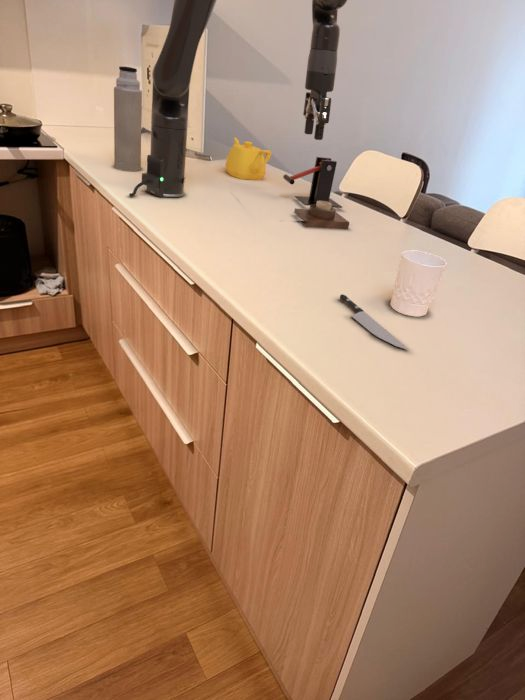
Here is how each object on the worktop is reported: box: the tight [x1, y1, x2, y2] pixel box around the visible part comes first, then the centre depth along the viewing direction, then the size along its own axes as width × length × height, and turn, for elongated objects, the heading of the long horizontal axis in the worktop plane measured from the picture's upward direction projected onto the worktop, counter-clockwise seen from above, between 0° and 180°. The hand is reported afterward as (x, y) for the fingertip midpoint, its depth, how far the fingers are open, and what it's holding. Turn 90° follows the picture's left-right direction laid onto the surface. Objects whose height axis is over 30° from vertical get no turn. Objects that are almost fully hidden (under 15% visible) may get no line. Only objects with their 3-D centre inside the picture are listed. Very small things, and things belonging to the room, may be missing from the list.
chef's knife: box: [339, 293, 409, 351], centre depth 86 cm, size 19×1×3 cm
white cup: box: [389, 249, 448, 318], centre depth 92 cm, size 8×8×10 cm
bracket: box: [294, 156, 343, 209], centre depth 149 cm, size 12×9×13 cm
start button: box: [316, 201, 332, 210], centre depth 134 cm, size 4×4×2 cm
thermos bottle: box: [113, 66, 143, 172], centre depth 152 cm, size 8×8×28 cm
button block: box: [293, 204, 350, 230], centre depth 135 cm, size 12×10×4 cm
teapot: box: [225, 137, 272, 181], centre depth 172 cm, size 22×16×11 cm
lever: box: [282, 159, 330, 186], centre depth 146 cm, size 14×6×2 cm, turn 106°
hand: (313, 136), depth 140 cm, fingers open, 8 cm apart
